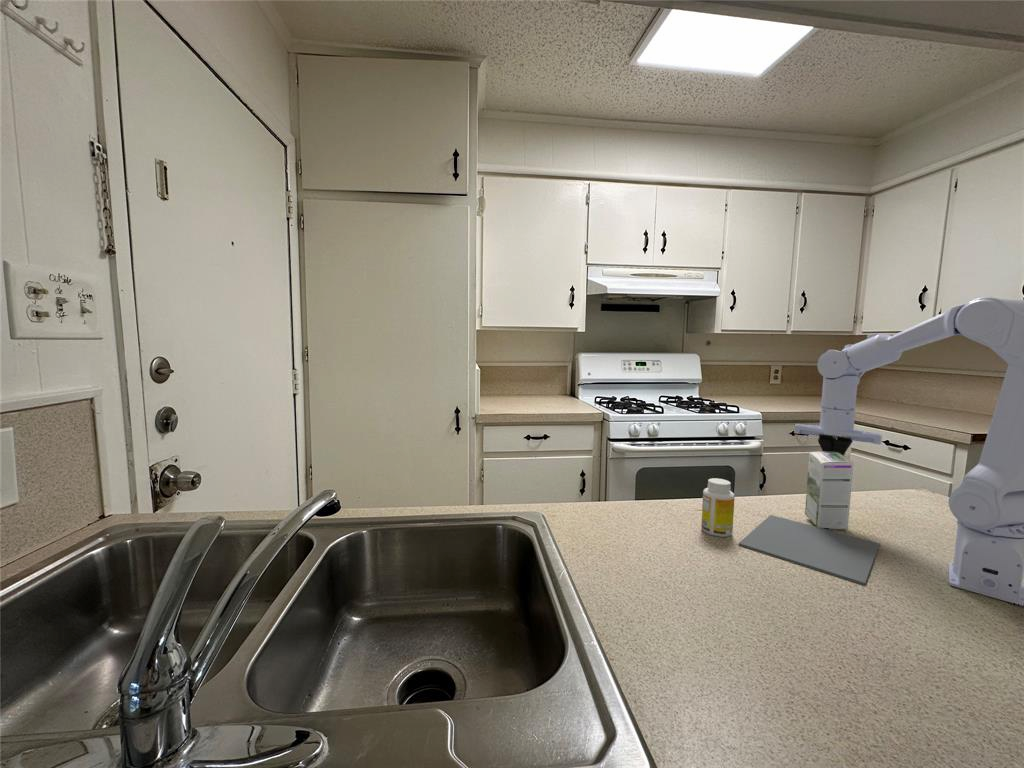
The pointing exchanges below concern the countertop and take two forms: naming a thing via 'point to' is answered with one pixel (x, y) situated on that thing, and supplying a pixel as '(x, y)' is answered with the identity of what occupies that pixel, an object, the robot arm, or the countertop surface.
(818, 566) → the mat
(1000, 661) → the countertop surface
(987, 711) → the countertop surface
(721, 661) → the countertop surface
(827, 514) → the syrup box
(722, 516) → the supplement bottle
